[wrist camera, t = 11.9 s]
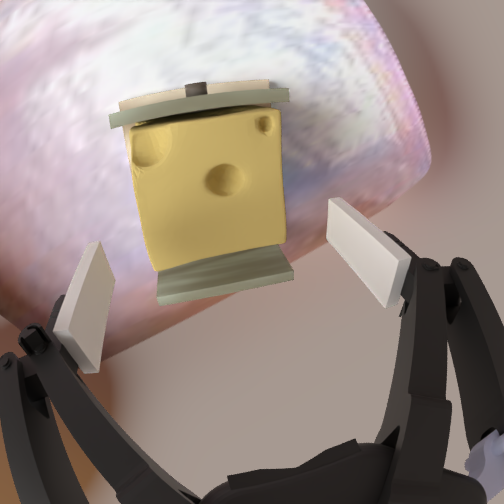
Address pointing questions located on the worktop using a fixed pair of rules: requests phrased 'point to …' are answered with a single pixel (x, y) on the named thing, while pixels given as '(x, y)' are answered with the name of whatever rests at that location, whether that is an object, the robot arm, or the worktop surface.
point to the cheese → (208, 183)
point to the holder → (227, 265)
